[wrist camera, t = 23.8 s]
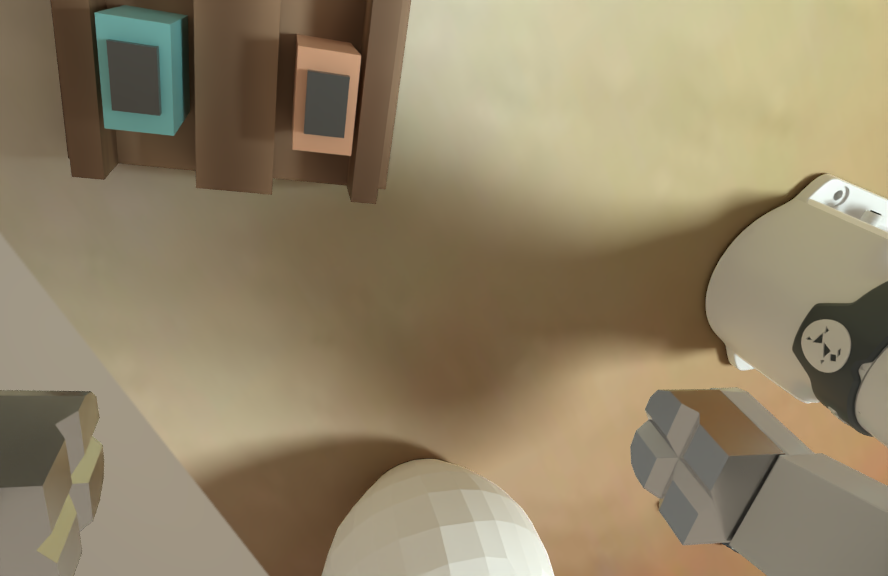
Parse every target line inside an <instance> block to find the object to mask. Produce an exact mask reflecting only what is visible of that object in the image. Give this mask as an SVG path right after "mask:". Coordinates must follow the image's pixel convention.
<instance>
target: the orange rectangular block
mask: <svg viewBox="0 0 888 576" xmlns="http://www.w3.org/2000/svg"><path fill="white" fill-rule="evenodd" d="M360 63H361V55H360V53H359V52H358V51H357V50H356V49H355V47H354V46H353V45H352V44H351V43H349V42H343V41H336V40H330V39H324V38H318V37H312V36H306V35H299V34H296V52H295V71H294V89H293V108H292V150H300V151H310V152H319V153H328V154H338V155H347V156H351V152H352V142H353V132H354V122H355V113H356V103H357V93H358V83H359V73H360Z"/></svg>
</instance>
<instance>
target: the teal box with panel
mask: <svg viewBox="0 0 888 576" xmlns="http://www.w3.org/2000/svg"><path fill="white" fill-rule="evenodd" d="M94 14H95V25H96V37H97V48H98V60H99V71H100V83H101V94H102V106H103V118H104V128H106V129H115V130H124V131H134V132H143V133H152V134H161V135H171V136H174V135H175V134H176V132H177V131H178V129H179V127H180V126H181V124H182V123H183V121H184V120H185V118H186V117H187V115H188V114H189V112H190V87H189V41H188V15H183V14H177V13H170V12H164V11H158V10H152V9H146V8H140V7H134V6H128V5H123V6H119V7H114V8H110V9H106V10H102V11H98V12H94Z"/></svg>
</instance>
